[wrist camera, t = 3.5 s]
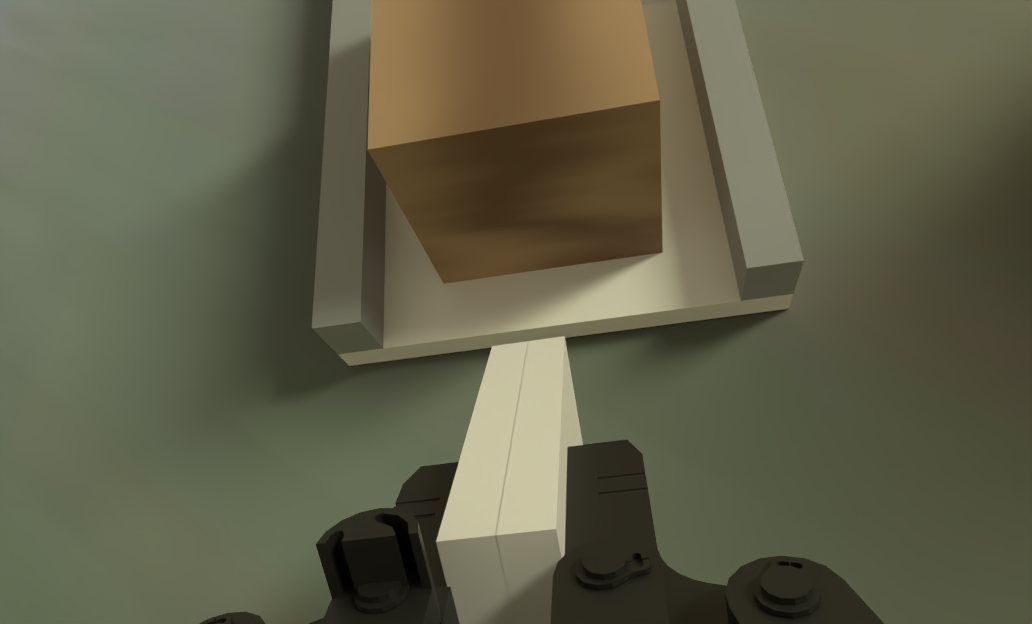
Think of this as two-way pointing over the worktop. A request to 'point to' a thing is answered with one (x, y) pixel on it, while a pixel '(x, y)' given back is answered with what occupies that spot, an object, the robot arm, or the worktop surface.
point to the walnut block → (518, 131)
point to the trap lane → (577, 288)
